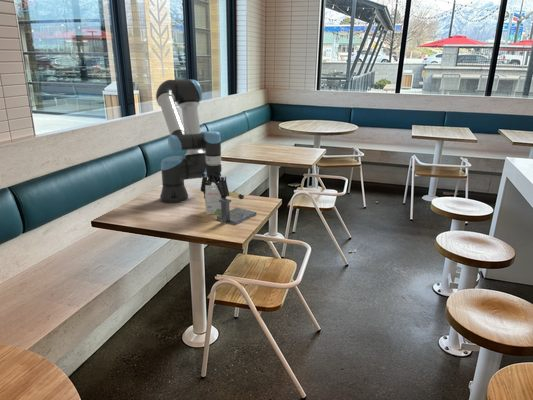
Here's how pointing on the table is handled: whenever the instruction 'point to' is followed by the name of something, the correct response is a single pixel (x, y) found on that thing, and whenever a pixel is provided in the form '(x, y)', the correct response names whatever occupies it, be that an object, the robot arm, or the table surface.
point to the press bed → (233, 213)
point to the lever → (236, 195)
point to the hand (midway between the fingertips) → (215, 207)
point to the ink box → (212, 200)
